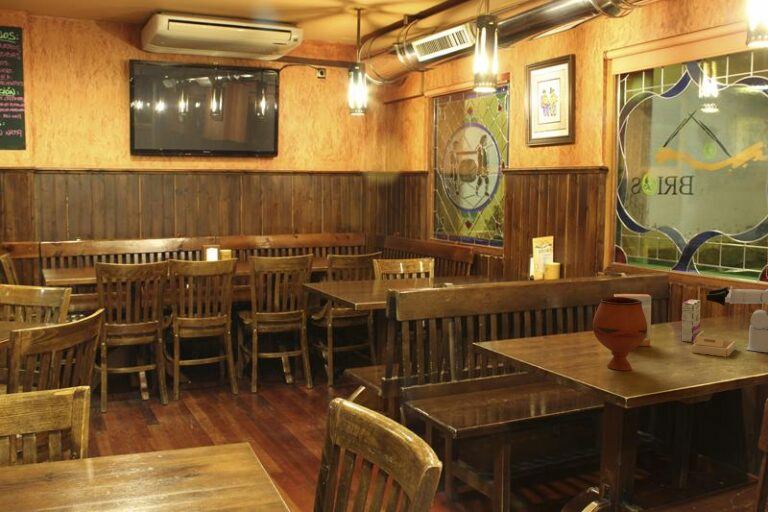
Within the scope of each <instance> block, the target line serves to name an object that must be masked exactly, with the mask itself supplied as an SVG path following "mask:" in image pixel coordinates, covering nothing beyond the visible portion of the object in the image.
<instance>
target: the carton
mask: <svg viewBox="0 0 768 512" xmlns="http://www.w3.org/2000/svg"><path fill="white" fill-rule="evenodd" d="M735 350H736V341H734V340H730V339H724V340H723V347H716V346H707V345H699V344H696V342H694V343H692V345H691V353H692V354H698V353H700V354H699V355H706V354H709V355H708V356H714V355H716V357H722V356H723V357H724V358H727V357H729V356H730V355H731V354H732V353H733V352H734V351H735Z"/></svg>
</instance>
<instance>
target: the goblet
mask: <svg viewBox="0 0 768 512" xmlns="http://www.w3.org/2000/svg"><path fill="white" fill-rule="evenodd" d="M592 330H593V333H594V336H595V338H596V339H597V341H598V342H599V343H600V344H602V346H603V347H605V348H606V349H608V350H610V351H611V354H612V356H613V357H612V358H611V359H610V360H609V361H608V363H607V364H606V367H609V368H608V369H610V368H612V369H611V370H613V369H616V370H615V371H629V370H632V365H631V364H630V362H629V361H628V360H627V357H628V356H629V352H631V351H633V350H635V349H637V348H638V347H640V346H639V345H640V344H641V343H642V342H643V340H644V339H645V337H646V334H647V322H646V318H645V315H644V312H643V309H642V301H641V300H638V299H633V298H625V297H614V296H607V297H604V298H600V302H599V305H598V307H597V310H596V312H595V314H594V317H593V319H592Z"/></svg>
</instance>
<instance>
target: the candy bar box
mask: <svg viewBox="0 0 768 512" xmlns="http://www.w3.org/2000/svg"><path fill="white" fill-rule="evenodd" d="M701 303H702V301H701V300H699V299H688V300H687V301H684V302H682V303H681V331H680V332H681V334H680V335H681V336H680V337H681V339H680V341H681V342H683V343H684V342H685V343H693V341H694V340H695V338H696V336H697V335H698V334H699V333H701V306H702V305H701Z"/></svg>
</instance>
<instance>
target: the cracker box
mask: <svg viewBox="0 0 768 512" xmlns="http://www.w3.org/2000/svg"><path fill="white" fill-rule="evenodd" d="M613 297H625V298H633V299H638V300H641V301H642V309H643V312H644V315H645V318H646V322H647V334H646V337H645V339H644V340H643V342H642V343H641V344H640V345H639V346H638V347H650V346H651V327H652V326H651V325H652V324H651V323H652V296H651V295H649V294H647V293H646V294H643V293H640V294H638V293H637V294H636V293H614V294H613Z"/></svg>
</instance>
